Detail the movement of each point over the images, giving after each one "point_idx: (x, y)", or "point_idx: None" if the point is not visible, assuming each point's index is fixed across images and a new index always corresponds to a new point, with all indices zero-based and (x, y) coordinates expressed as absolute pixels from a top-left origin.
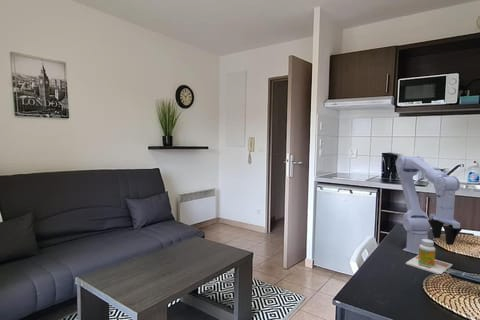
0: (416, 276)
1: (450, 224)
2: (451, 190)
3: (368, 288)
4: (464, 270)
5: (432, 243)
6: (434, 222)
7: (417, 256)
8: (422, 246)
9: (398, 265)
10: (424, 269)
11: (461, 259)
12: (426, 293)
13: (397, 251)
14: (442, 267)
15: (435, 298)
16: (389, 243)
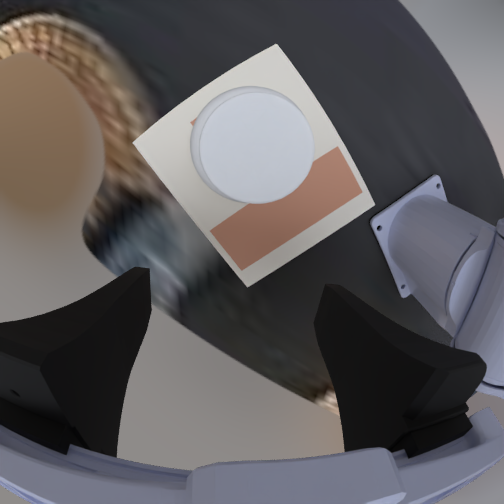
0: (131, 21)
1: (63, 460)
2: None
3: None
4: (195, 297)
5: (201, 162)
6: (402, 401)
7: (356, 178)
8: (246, 92)
9: (260, 4)
10: (193, 94)
11: (305, 359)
12: (26, 16)
13: (430, 138)
14: (205, 206)
15: (4, 33)
16: (492, 181)
